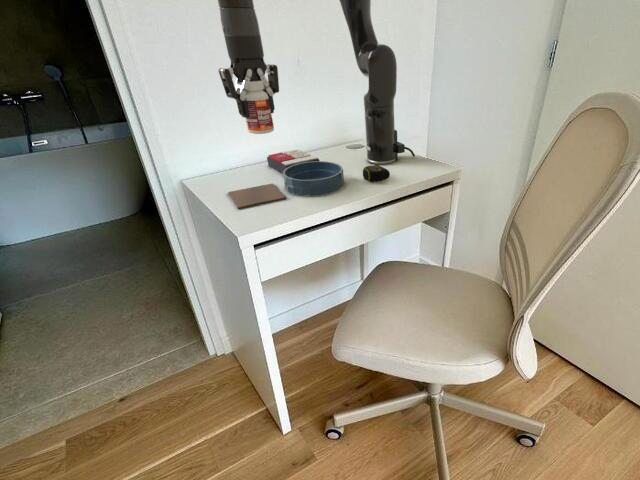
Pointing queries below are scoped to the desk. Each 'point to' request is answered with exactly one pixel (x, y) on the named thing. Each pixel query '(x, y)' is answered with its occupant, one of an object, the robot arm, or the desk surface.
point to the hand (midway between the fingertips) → (258, 114)
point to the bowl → (313, 178)
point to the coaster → (256, 196)
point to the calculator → (289, 159)
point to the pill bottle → (258, 109)
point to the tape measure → (375, 173)
